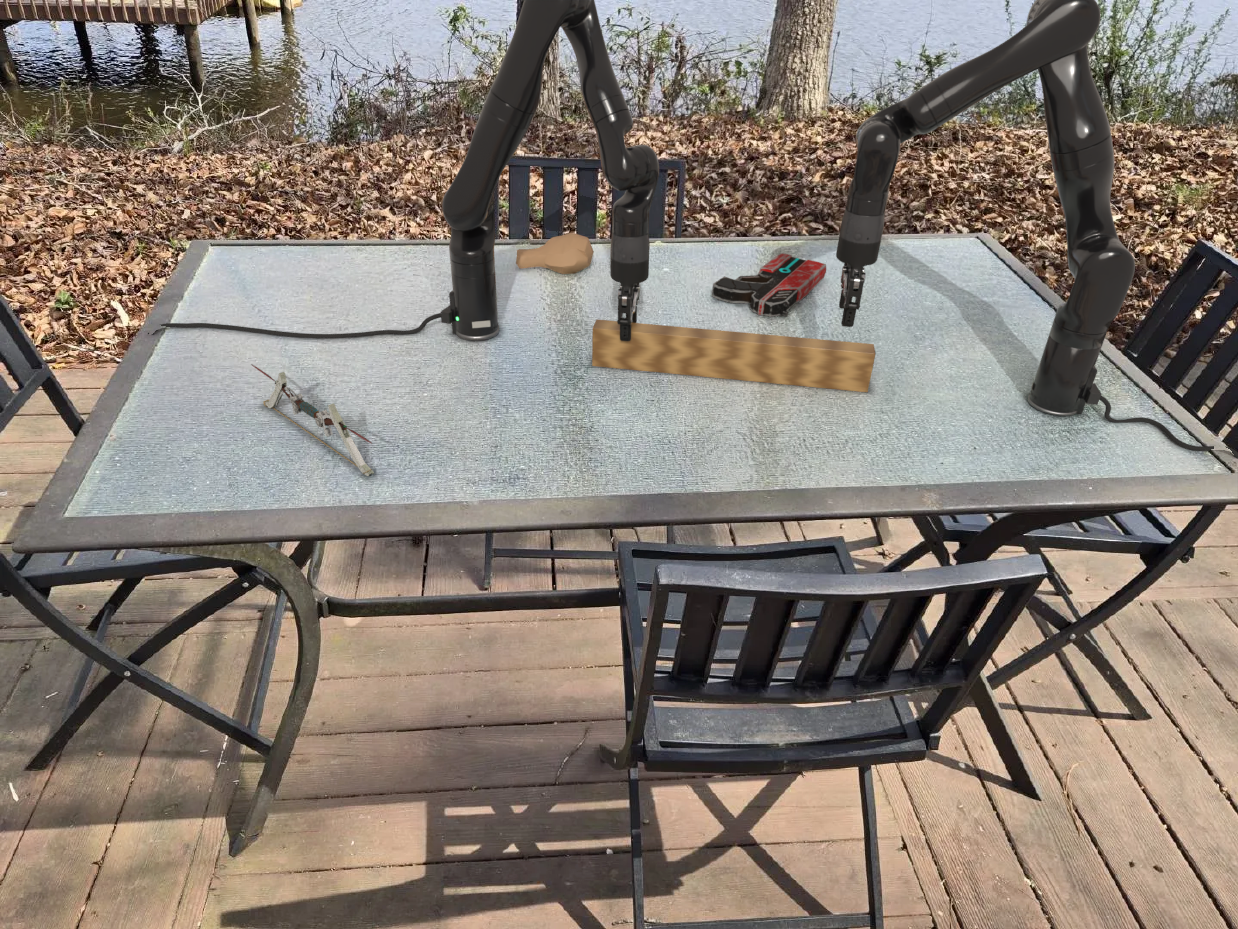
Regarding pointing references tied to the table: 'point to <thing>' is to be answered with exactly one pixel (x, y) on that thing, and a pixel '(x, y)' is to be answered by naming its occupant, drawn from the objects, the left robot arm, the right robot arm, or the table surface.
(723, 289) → the gun
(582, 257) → the squash
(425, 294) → the table surface
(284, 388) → the bow
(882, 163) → the right robot arm
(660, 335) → the post
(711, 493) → the table surface
